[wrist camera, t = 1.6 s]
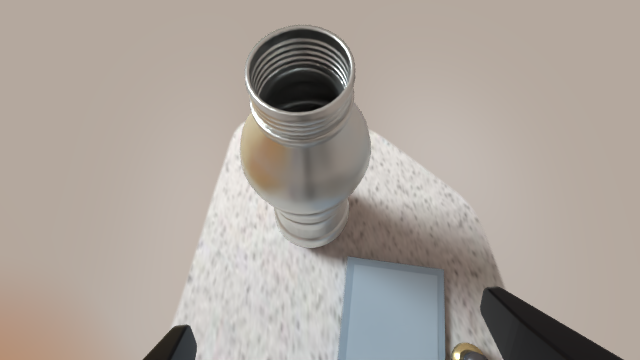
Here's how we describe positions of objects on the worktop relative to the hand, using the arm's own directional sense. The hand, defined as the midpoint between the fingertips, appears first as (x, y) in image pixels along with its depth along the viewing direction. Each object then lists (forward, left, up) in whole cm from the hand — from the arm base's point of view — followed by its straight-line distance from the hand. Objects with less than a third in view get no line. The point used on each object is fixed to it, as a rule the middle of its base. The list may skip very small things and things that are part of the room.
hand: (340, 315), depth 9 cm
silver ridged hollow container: (+7, +2, -18) cm, 19 cm away
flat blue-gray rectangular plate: (-1, -6, -18) cm, 19 cm away
